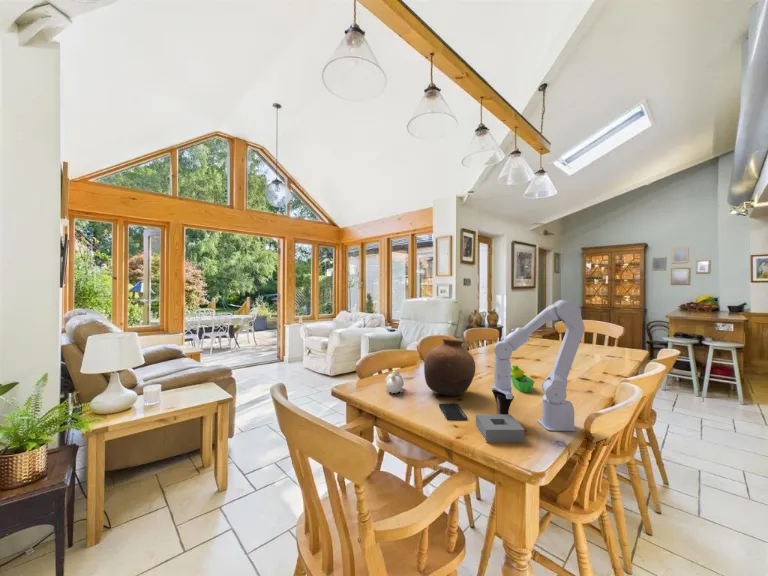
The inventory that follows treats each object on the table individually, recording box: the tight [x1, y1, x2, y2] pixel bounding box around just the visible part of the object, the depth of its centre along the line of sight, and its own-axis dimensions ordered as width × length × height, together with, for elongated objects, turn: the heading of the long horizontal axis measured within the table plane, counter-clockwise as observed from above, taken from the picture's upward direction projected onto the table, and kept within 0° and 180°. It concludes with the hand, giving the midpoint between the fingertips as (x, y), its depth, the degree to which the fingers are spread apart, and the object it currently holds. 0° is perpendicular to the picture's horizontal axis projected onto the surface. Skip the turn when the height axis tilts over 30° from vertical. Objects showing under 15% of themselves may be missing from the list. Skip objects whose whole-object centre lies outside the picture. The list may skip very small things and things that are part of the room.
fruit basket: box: [511, 364, 536, 393], centre depth 154 cm, size 11×9×11 cm
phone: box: [438, 402, 468, 421], centre depth 126 cm, size 8×1×15 cm
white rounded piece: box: [384, 370, 405, 394], centre depth 152 cm, size 10×8×15 cm
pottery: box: [423, 338, 476, 397], centre depth 148 cm, size 23×23×25 cm
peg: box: [496, 397, 510, 415], centre depth 119 cm, size 3×3×8 cm
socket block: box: [475, 413, 526, 443], centre depth 108 cm, size 12×12×4 cm
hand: (502, 412), depth 119 cm, fingers closed on peg, 3 cm apart
